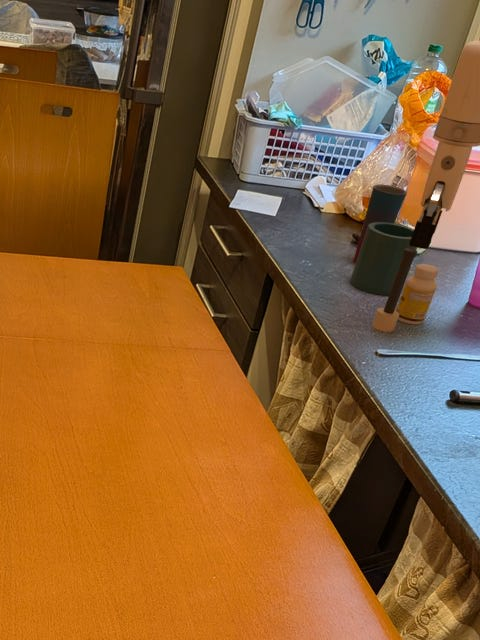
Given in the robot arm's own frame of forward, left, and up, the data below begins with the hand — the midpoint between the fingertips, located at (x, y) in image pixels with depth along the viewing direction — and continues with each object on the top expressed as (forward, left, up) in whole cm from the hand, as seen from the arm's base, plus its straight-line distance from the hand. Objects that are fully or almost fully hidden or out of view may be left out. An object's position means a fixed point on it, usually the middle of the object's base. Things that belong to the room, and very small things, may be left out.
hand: (421, 239), depth 163 cm
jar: (-12, -20, -16) cm, 28 cm away
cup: (-19, -33, -16) cm, 41 cm away
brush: (+1, 0, -16) cm, 16 cm away
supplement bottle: (-7, -3, -16) cm, 18 cm away
